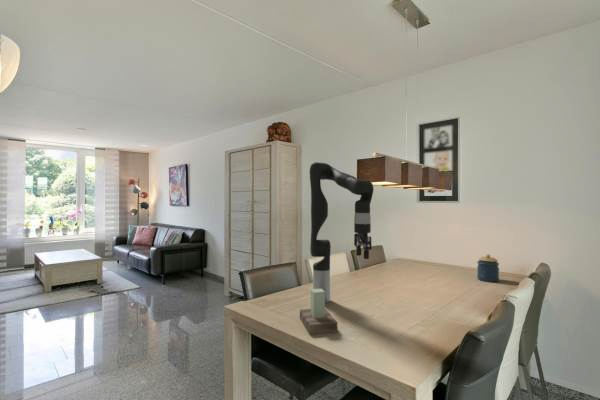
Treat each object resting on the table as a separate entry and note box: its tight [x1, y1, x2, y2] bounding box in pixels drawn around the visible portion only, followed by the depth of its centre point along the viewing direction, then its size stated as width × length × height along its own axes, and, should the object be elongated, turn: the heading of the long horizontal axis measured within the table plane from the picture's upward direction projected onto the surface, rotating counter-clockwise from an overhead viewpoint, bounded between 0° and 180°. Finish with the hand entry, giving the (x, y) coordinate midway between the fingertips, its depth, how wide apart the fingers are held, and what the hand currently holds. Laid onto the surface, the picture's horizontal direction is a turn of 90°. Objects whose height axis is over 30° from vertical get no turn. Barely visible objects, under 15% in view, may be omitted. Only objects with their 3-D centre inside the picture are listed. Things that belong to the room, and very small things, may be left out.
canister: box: [476, 254, 500, 283], centre depth 213 cm, size 13×13×18 cm
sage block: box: [310, 288, 326, 318], centre depth 136 cm, size 5×5×11 cm
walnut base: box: [299, 308, 338, 335], centre depth 136 cm, size 18×12×4 cm, turn 12°
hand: (362, 257), depth 145 cm, fingers open, 8 cm apart
